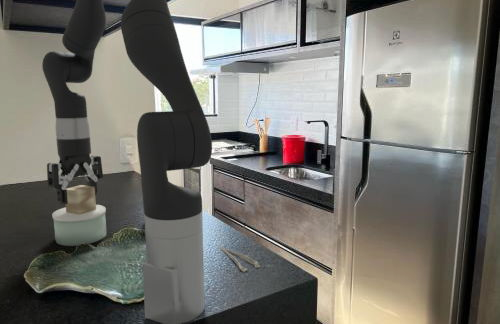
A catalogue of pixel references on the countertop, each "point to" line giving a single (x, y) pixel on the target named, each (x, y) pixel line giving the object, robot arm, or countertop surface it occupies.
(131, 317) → the countertop surface
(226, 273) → the countertop surface
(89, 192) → the beech block
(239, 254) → the tweezers
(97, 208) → the round lidded container
